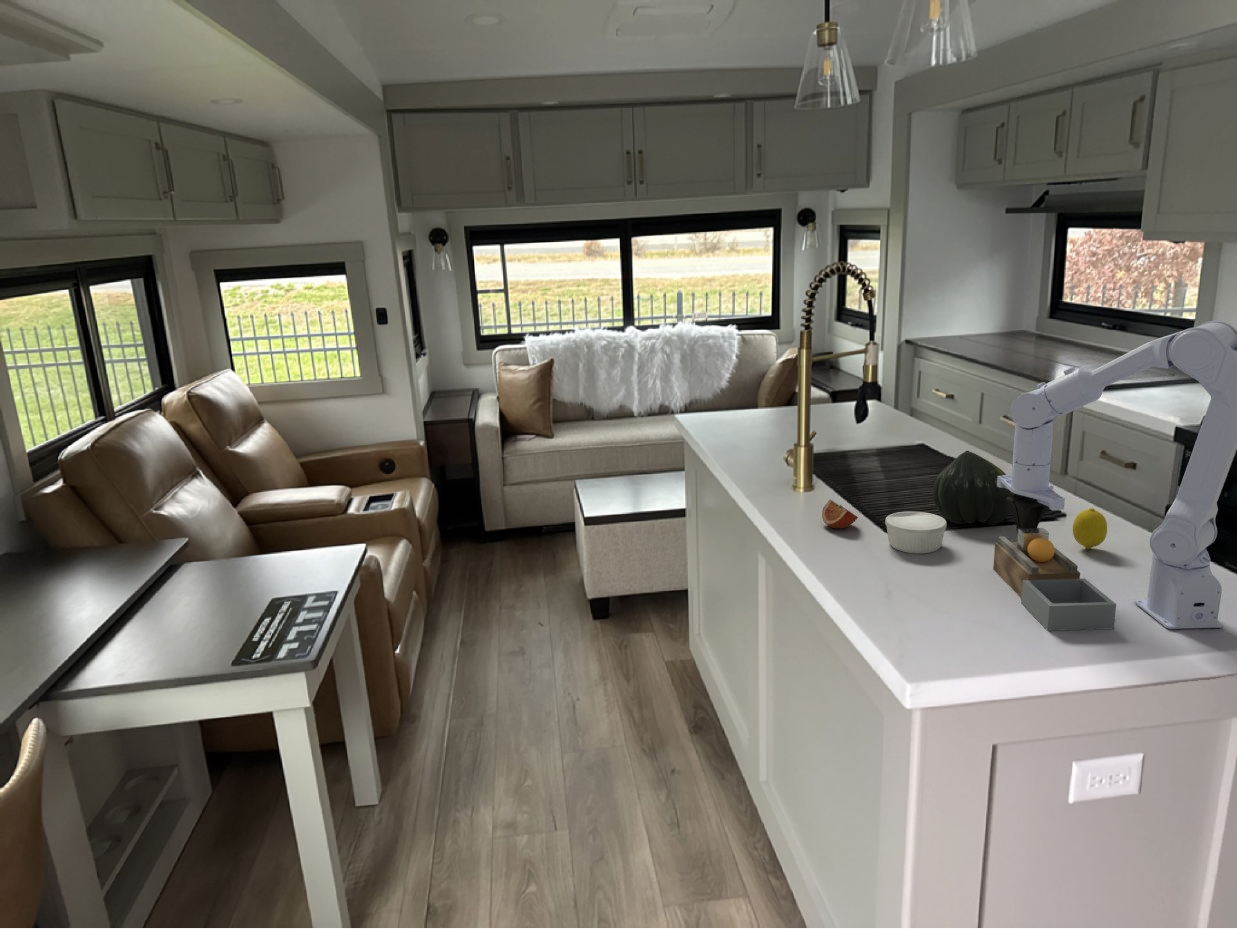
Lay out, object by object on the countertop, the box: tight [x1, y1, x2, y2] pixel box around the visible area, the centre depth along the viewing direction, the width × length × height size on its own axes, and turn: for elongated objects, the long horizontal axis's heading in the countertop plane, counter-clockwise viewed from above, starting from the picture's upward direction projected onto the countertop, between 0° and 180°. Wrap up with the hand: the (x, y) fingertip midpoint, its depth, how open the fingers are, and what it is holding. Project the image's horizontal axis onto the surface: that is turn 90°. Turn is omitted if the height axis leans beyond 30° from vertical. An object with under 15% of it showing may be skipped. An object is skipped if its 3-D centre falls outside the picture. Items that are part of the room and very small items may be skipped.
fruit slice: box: [821, 499, 859, 529], centre depth 172 cm, size 8×7×5 cm
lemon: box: [1072, 507, 1108, 550], centre depth 152 cm, size 6×6×8 cm
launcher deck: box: [992, 535, 1081, 598], centre depth 139 cm, size 14×8×6 cm, turn 177°
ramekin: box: [884, 511, 947, 555], centre depth 159 cm, size 11×11×5 cm
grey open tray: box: [1020, 577, 1117, 631], centre depth 128 cm, size 10×10×4 cm
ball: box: [1028, 538, 1056, 562], centre depth 136 cm, size 4×4×4 cm
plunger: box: [1016, 527, 1050, 556], centre depth 139 cm, size 2×4×4 cm, turn 87°
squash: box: [932, 450, 1014, 526], centre depth 170 cm, size 14×15×15 cm
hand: (1025, 537), depth 142 cm, fingers closed
